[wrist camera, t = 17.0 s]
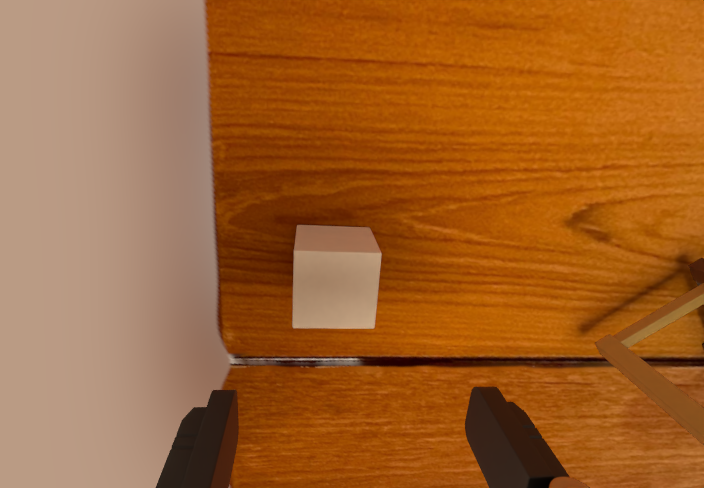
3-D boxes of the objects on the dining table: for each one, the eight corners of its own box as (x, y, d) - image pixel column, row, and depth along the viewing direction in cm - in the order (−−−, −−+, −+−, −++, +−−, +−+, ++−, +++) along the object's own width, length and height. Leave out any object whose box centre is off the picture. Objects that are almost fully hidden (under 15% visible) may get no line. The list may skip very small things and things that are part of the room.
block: (364, 292, 27) (374, 329, 23) (295, 291, 26) (292, 328, 22) (370, 226, 25) (382, 253, 21) (296, 224, 25) (293, 250, 21)
